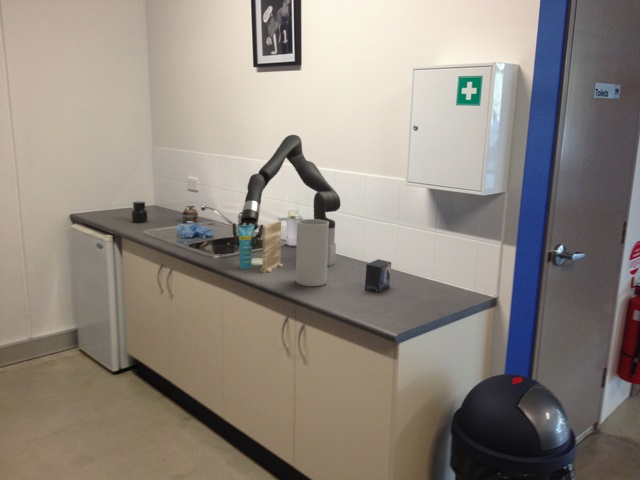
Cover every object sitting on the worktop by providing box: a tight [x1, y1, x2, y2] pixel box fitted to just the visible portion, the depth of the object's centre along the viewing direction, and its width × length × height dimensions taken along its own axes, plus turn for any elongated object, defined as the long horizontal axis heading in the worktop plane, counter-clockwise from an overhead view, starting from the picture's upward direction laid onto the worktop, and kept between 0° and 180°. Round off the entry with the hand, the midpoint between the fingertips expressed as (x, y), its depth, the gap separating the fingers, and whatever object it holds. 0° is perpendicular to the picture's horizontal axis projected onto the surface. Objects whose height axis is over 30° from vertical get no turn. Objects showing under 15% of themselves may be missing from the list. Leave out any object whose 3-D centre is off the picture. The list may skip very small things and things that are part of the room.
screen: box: [259, 220, 284, 274], centre depth 249 cm, size 5×14×20 cm, turn 155°
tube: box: [237, 225, 255, 270], centre depth 249 cm, size 7×5×19 cm, turn 123°
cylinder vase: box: [295, 218, 329, 287], centre depth 230 cm, size 12×12×25 cm
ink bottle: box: [131, 200, 148, 224], centre depth 345 cm, size 10×9×12 cm
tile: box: [251, 257, 262, 267], centre depth 261 cm, size 11×11×1 cm
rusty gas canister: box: [181, 205, 199, 224], centre depth 349 cm, size 10×10×10 cm
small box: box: [364, 259, 392, 293], centre depth 227 cm, size 11×6×10 cm, turn 148°
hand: (244, 245), depth 247 cm, fingers closed on tube, 5 cm apart
